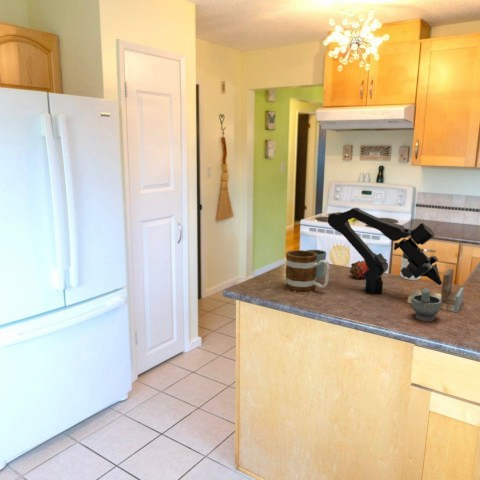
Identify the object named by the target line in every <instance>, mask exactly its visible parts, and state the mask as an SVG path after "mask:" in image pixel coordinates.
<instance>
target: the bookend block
mask: <svg viewBox="0 0 480 480" xmlns="http://www.w3.org/2000/svg"><path fill="white" fill-rule="evenodd" d="M454 272H455V269H453V268H447V270H445V272H444V273H443V276H442V284H441V285H442V286H441V293H440V294H441V300H442V303H444V304H449V305H455V299H456V295H457V293H458V292H454V291H452V289H453V280H454Z"/></svg>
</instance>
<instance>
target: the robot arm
mask: <svg viewBox="0 0 480 480" xmlns="http://www.w3.org/2000/svg"><path fill="white" fill-rule="evenodd" d="M352 219H354V220H357V221H359V222H361V223H363V224H365V225H367V226H369V227H371V228H374V229H375V230H377V231H380V232H381V234H383V235H384V237H386V238H388V239H389V240H390V241H392V242H394V244H393V245H394V247H393V251H396V250H397V249H400V250H401V251H402V253H403V252H404V254H405V255H406V256H407V257H408V258H409V259H407V260H408V262H409V264H408V266H407V267H403V268H402V270H401V269H400V271H401V272H402V275H403V276H404V277H407V278H409V279H410V277H412V275H413V276H414V277H415V279H416V278H418V277H419V276H421V277H427V278H428V279H430V280H431V281H433V282H434V283H435V284H437V285H439V286H441V285H442V283H443V281H442V279H441V275H440V273H439V269H438V264H437V263H436V262H438V261H439V259H438V257H437V256H436V255H431V256H428V255H426V254H425V253H424V251H425V250H424V249H423V248H420V247H419V245H422V246H424V245H425V244H427V242H429V241H430V240H432V239H433V238H434V237H436V235H435V233H434V231H433V229H432V228H431V227H429V226H428V225H426V224H425V223H424V222H421V223H419V225H417V226H416V227H415V228H414V229H409V228H405V226H403V225H401V224H399V223H394V222H389V221H386V220H383V219H380V218H379V217H377V216H374V215H373V214H370V213H368V212H366V211H364V210H362V209H360V207H353V208H351V209H349V210H347V211H344V212H342V211H341V212H340V211H339V212H335V213H331V214H329V216H328V217H327V224H328V225H329V226H330V227H331V228H332V229H333V230H334V231H336V232H338V233H340V234H341V235H342V236H343V237H344V238H345V239H346V240H347V242H348V243H349V244H350V245H351V246H352V247H353V248H354V249H355V251H356V252H357V253H358V254H359V255H360V256H361V257H362V259H363V261H365V263H366V265H367V267H368V269H369V270H368V271H366V272H365V273H364V277H365V278H364V287H363V291H364V293H365V294H379V295H381V294H383V288H384V287H383V285H384V281H383V278H382V276H383V275H384V273H386V272H387V271H388V269H389V264H388V262H387V261H388V259H386V258H385V257H384V256H383V254H382V253H378V254H376V253H375V252H373V250H372V249H370V247H369V246H368V245H367V244H366V243H365V242H364V240H363V239H362V238H361V237H360V236H359V234H357V233H356V231H355V230H354V229H353V228H352V226H351V224H350V221H349V220H352ZM406 238H407V239H406ZM399 240H400V241H399ZM398 241H399V242H398Z"/></svg>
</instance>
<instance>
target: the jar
mask: <svg viewBox="0 0 480 480" xmlns="http://www.w3.org/2000/svg"><path fill="white" fill-rule="evenodd" d="M407 259H409V258H408V257H407V256H406V255H405V254H404V252H403V251H402V256H401V260H400V261H401V263H400V271H399V272H400V274H399V277H401V278H403V280H409V281H418V280H420V279H421V278H422V276H419V277H418V278H416V279H415V277H414V276H413V275H412V277H410V279H409V278H407V277H404V276H403V275H402V272H401V270H402V268H403V267H407V266H408V264H409V262H408V260H407Z"/></svg>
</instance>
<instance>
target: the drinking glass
mask: <svg viewBox="0 0 480 480" xmlns="http://www.w3.org/2000/svg"><path fill="white" fill-rule="evenodd" d="M305 251H311V252H315V253H318V254H317V263H318V262H319V261H320V260H326V258H327V252H326V251H325V250H321V249H307V250H305ZM325 269H326V264H325V263H324V262H323V263H321V264H320V265H318V266H317V272H316V279H319V280H322V278H323V279H324V278H325Z"/></svg>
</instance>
